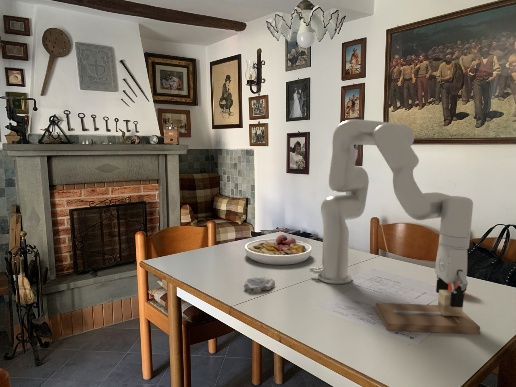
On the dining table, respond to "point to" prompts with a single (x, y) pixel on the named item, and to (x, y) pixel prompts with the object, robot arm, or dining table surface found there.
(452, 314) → the block
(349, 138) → the robot arm
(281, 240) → the bowl
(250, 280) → the fossil
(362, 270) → the dining table surface
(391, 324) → the board
